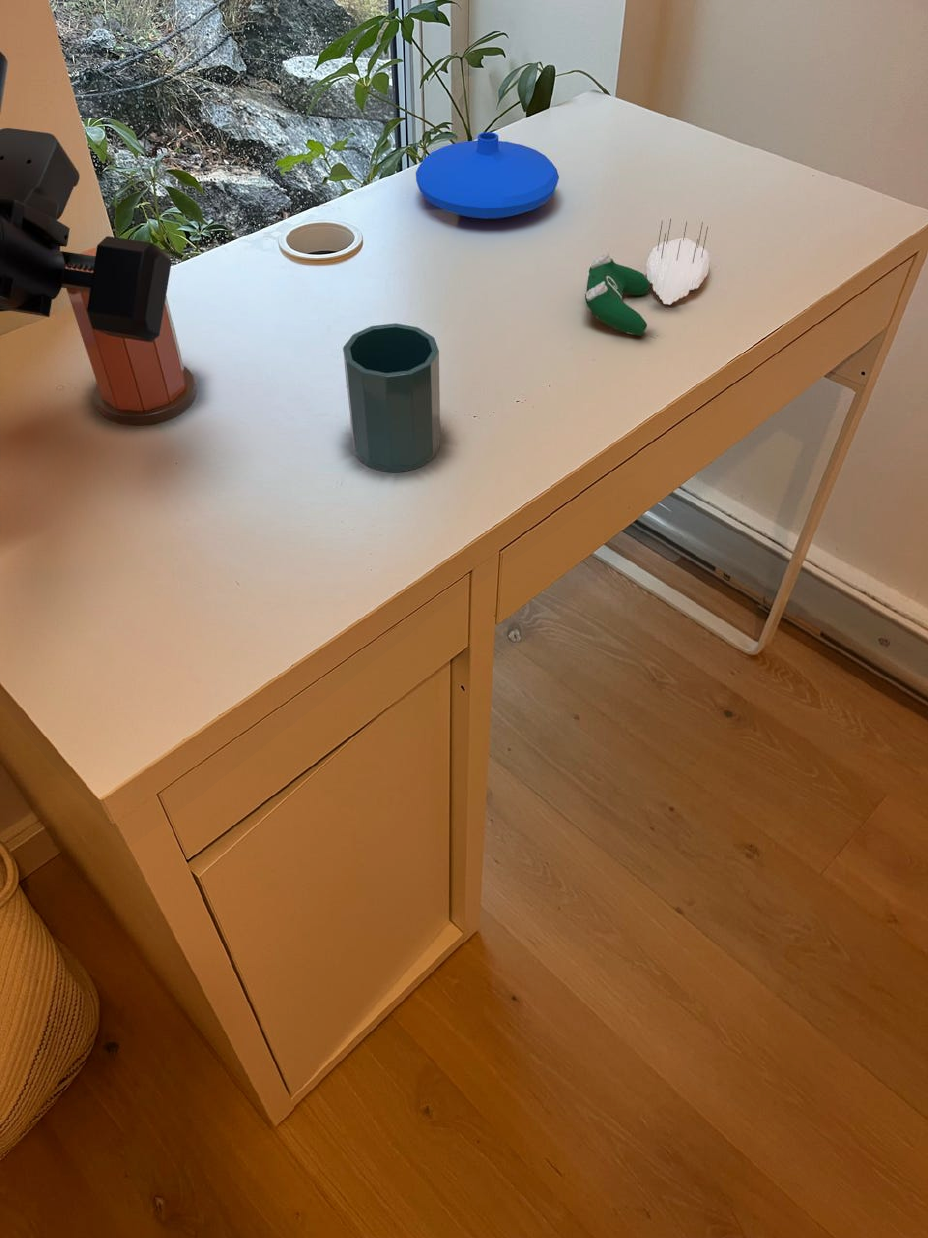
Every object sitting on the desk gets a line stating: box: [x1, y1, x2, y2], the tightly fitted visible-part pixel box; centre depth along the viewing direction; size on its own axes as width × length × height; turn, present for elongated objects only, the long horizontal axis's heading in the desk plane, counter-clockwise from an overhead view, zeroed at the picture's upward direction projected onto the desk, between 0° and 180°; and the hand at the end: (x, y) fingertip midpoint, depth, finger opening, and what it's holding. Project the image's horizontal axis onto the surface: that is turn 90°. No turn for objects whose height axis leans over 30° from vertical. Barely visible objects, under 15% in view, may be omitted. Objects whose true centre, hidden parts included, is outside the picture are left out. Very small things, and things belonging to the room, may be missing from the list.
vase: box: [415, 131, 560, 220], centre depth 106 cm, size 16×16×7 cm
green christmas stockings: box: [584, 252, 651, 337], centre depth 92 cm, size 9×4×6 cm
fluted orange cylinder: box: [65, 246, 186, 411], centre depth 79 cm, size 7×7×11 cm
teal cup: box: [342, 322, 441, 473], centre depth 76 cm, size 7×7×9 cm
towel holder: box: [93, 366, 197, 426], centre depth 82 cm, size 8×8×6 cm
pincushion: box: [645, 218, 711, 306], centre depth 96 cm, size 12×6×6 cm, turn 163°
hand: (101, 308), depth 75 cm, fingers open, 9 cm apart
